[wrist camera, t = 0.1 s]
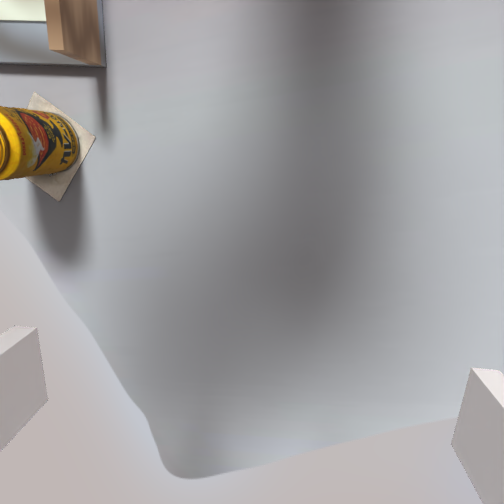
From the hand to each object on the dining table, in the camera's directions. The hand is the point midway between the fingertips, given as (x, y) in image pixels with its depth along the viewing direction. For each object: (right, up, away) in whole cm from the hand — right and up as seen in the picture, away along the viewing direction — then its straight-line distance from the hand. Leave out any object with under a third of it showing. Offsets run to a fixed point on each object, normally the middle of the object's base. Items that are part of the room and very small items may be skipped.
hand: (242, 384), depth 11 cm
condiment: (-21, +15, +27) cm, 38 cm away
